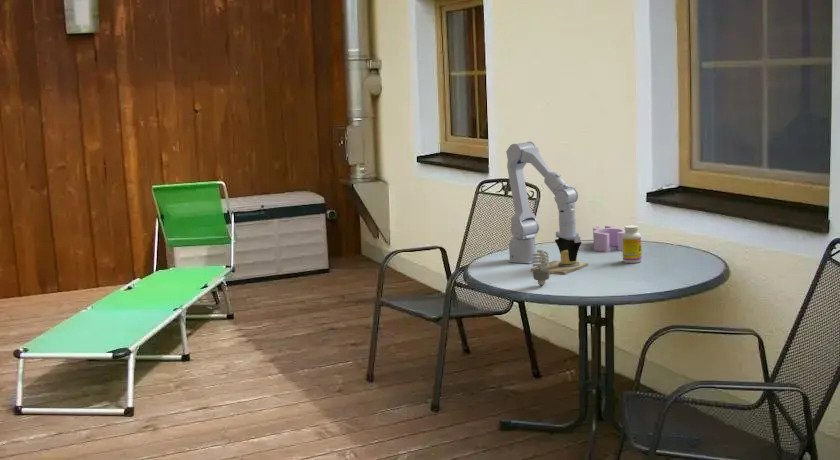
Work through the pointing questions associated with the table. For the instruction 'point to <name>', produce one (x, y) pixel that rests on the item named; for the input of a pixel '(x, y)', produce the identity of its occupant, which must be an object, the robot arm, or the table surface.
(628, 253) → the supplement bottle
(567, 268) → the stud plate
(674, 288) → the table surface
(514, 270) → the table surface
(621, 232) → the clip
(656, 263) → the table surface
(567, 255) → the cap
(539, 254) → the light bulb
